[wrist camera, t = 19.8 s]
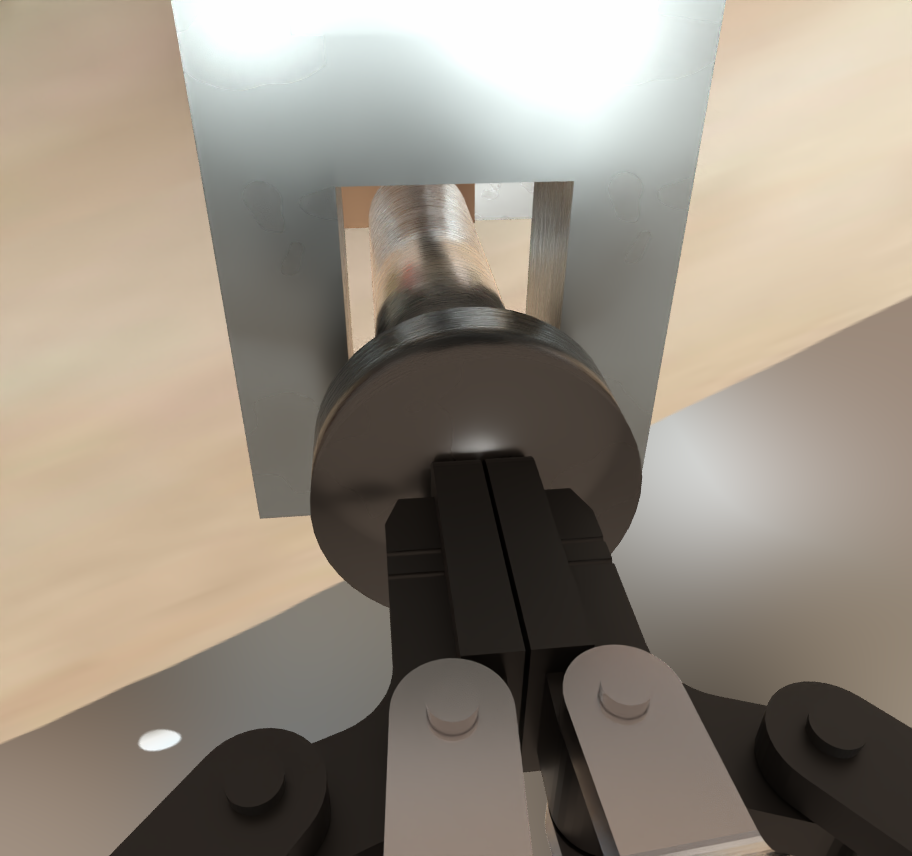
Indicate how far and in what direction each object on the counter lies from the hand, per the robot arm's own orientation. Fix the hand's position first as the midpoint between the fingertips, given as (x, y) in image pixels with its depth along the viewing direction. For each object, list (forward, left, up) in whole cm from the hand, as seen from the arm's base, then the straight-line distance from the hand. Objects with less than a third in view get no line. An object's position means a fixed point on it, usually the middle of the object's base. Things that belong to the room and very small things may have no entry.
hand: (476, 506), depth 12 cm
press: (0, +2, -31) cm, 31 cm away
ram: (0, 0, -13) cm, 13 cm away
